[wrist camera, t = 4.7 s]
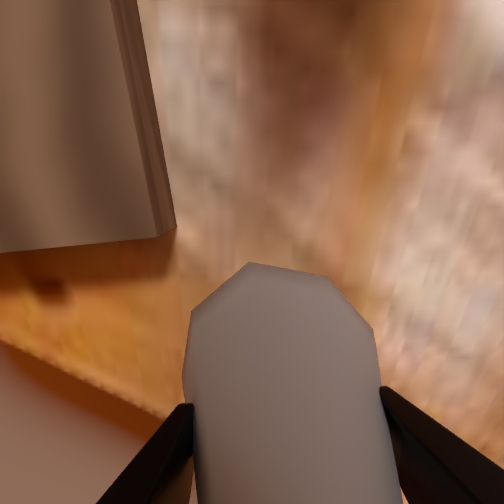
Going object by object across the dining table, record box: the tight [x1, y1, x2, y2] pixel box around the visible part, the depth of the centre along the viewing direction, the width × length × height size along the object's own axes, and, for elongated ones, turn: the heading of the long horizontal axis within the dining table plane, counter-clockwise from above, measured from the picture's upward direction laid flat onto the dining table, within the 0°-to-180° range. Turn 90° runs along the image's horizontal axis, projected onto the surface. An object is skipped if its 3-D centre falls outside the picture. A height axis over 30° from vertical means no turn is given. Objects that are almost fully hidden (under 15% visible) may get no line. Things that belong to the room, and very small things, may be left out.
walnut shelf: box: [0, 0, 177, 253], centre depth 15 cm, size 16×14×4 cm
